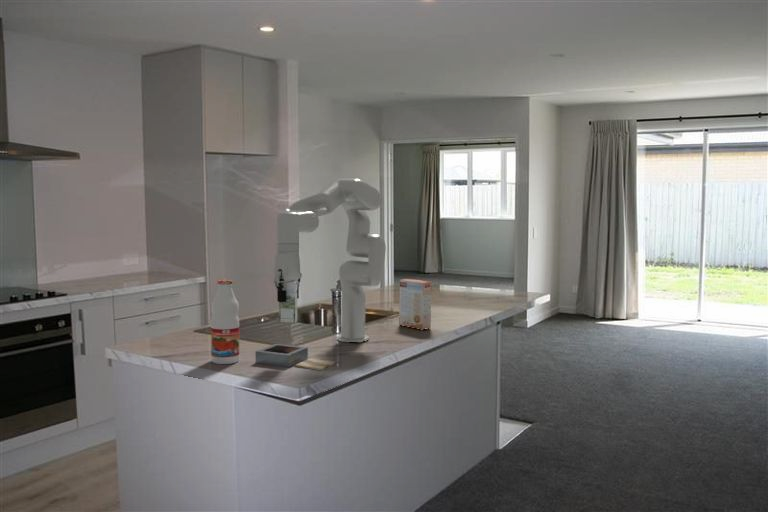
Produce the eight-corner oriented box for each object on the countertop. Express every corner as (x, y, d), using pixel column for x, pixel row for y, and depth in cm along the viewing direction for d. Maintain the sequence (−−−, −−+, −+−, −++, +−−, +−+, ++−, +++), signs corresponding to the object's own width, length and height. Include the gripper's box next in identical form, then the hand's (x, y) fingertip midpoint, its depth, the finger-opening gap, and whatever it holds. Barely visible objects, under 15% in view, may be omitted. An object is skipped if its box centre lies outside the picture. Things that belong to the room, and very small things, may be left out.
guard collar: (275, 354, 236) (275, 343, 236) (307, 358, 231) (307, 347, 231) (255, 362, 224) (255, 351, 224) (288, 367, 219) (288, 355, 219)
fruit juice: (239, 357, 231) (239, 278, 229) (239, 364, 222) (238, 281, 219) (212, 358, 229) (211, 278, 227) (210, 365, 220) (209, 282, 218)
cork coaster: (309, 359, 229) (309, 358, 229) (335, 363, 225) (335, 361, 225) (294, 366, 220) (295, 364, 220) (321, 370, 216) (321, 368, 216)
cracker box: (431, 329, 286) (432, 281, 284) (421, 331, 281) (422, 282, 279) (407, 324, 296) (408, 278, 294) (398, 326, 291) (399, 279, 289)
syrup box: (297, 320, 229) (297, 279, 227) (295, 324, 223) (295, 281, 221) (281, 320, 229) (281, 279, 227) (278, 323, 223) (278, 281, 221)
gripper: (292, 246, 233) (292, 295, 234) (264, 249, 217) (264, 303, 218) (310, 246, 230) (310, 297, 231) (283, 250, 214) (283, 304, 215)
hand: (288, 299), depth 225 cm, fingers closed on syrup box, 7 cm apart
